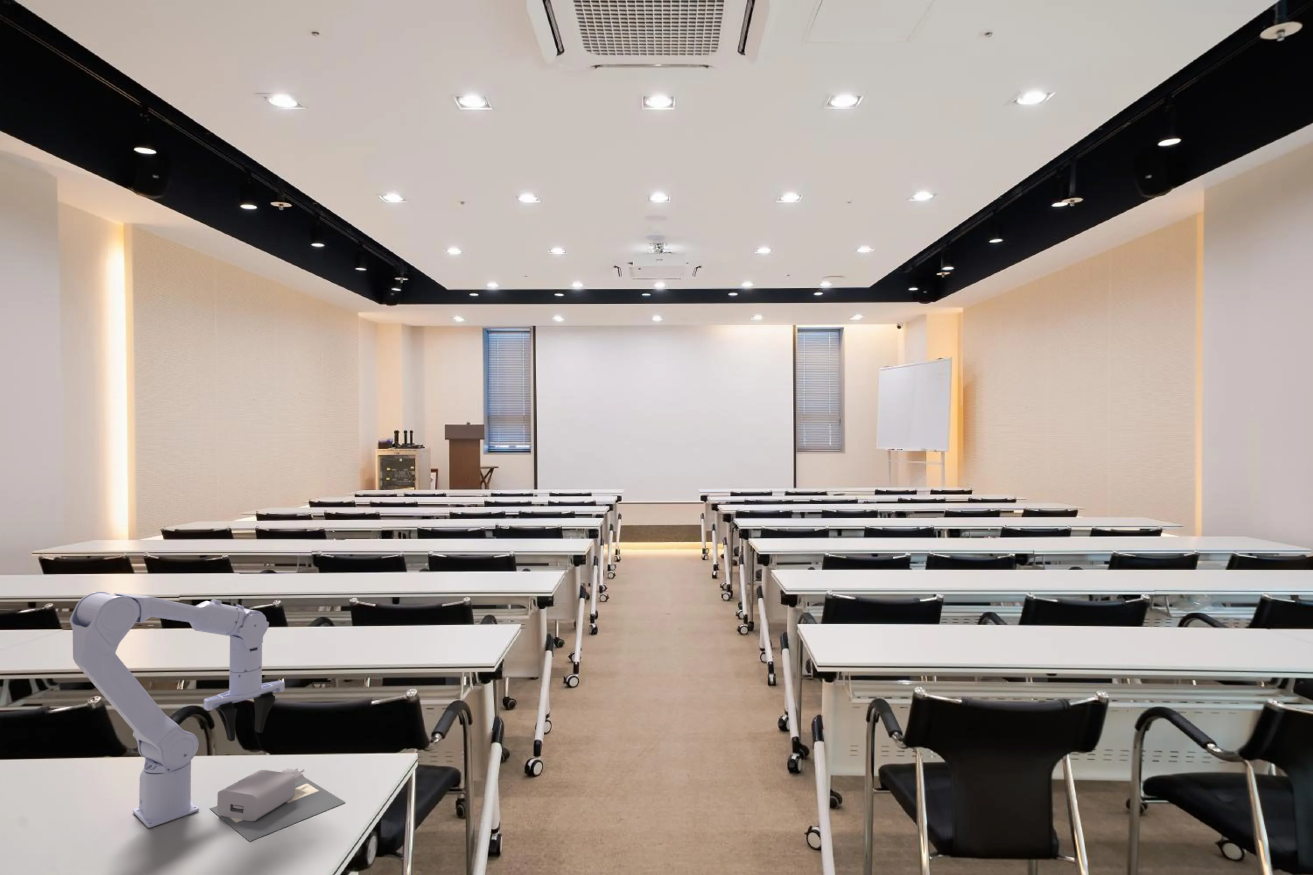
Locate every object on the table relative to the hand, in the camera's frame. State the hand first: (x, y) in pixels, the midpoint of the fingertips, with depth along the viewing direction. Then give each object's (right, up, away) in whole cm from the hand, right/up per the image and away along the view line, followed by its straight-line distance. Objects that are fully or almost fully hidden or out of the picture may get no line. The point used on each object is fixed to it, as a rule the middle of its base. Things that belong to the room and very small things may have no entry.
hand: (245, 735), depth 141 cm
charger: (+9, -9, -8) cm, 15 cm away
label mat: (+12, -9, -10) cm, 18 cm away
